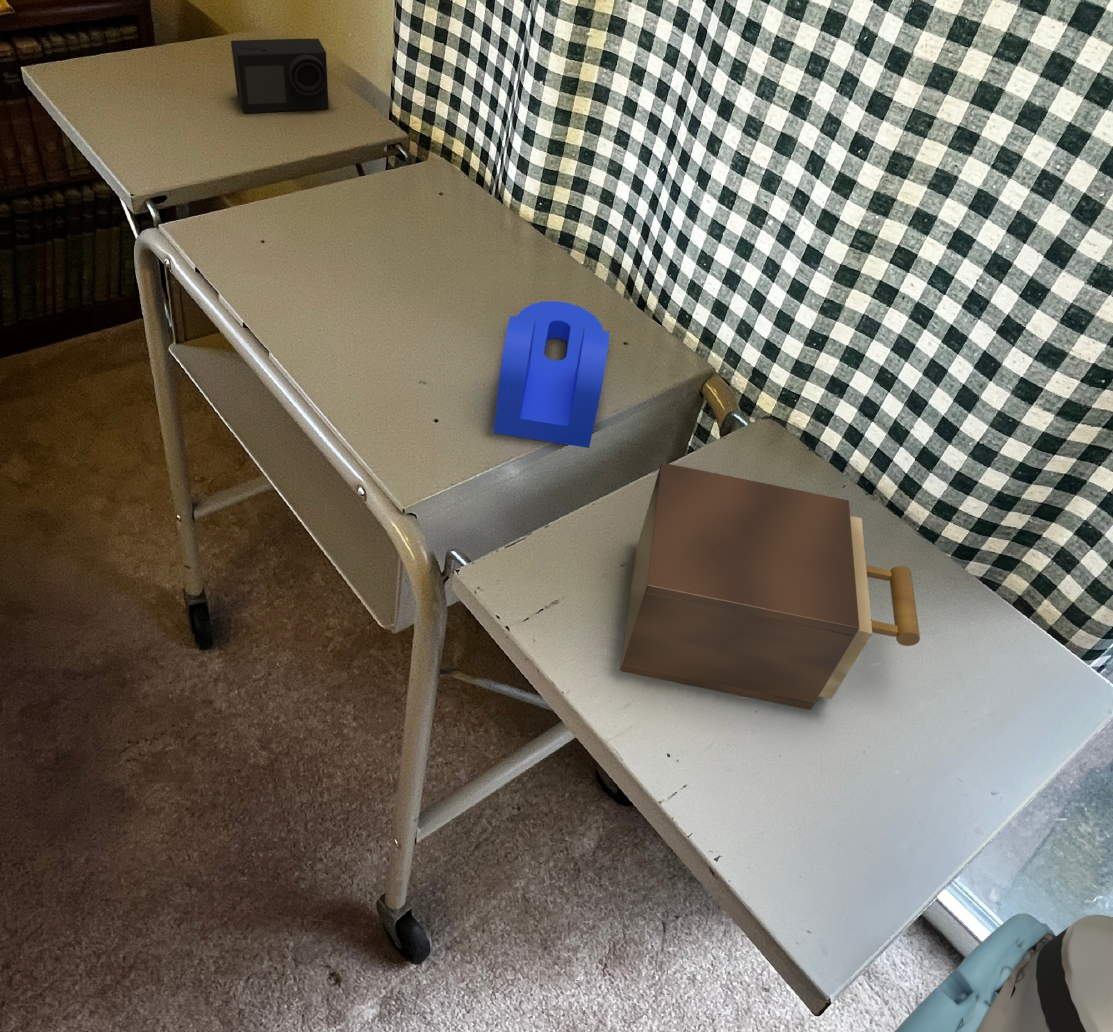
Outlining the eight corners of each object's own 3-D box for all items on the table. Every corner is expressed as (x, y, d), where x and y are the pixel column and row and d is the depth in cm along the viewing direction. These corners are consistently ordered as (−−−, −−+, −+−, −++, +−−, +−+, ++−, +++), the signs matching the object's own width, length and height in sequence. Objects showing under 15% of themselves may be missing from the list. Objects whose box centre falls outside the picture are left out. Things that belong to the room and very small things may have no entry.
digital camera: (244, 118, 114) (238, 58, 109) (236, 98, 118) (229, 39, 112) (331, 114, 118) (328, 56, 113) (321, 94, 121) (318, 37, 116)
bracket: (589, 448, 82) (606, 365, 76) (493, 432, 82) (502, 348, 76) (602, 326, 95) (617, 246, 88) (519, 313, 94) (528, 231, 88)
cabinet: (806, 584, 75) (849, 499, 68) (810, 710, 67) (859, 628, 60) (636, 549, 75) (661, 461, 68) (620, 670, 67) (647, 585, 60)
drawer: (879, 597, 74) (920, 529, 68) (891, 711, 66) (938, 646, 61) (666, 553, 74) (689, 482, 68) (655, 663, 67) (680, 594, 61)
